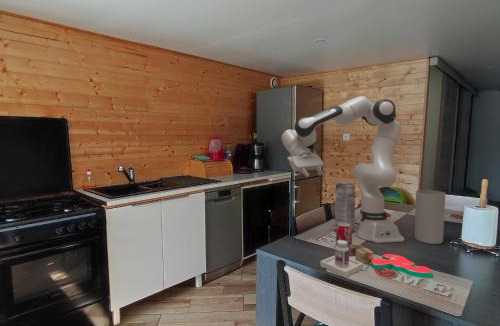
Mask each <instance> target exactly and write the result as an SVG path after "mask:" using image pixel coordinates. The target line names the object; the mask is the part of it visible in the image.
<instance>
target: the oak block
mask: <svg viewBox="0 0 500 326" xmlns="http://www.w3.org/2000/svg"><path fill="white" fill-rule="evenodd" d="M355 260H356V261H359V262H361V263H363V264H365V265H371V264H370V263H371V261H372V260H374V252H373V251H372V250H371V249H369V248H367V247H364V248H360V249H356V257H355Z"/></svg>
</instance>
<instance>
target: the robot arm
mask: <svg viewBox="0 0 500 326" xmlns="http://www.w3.org/2000/svg"><path fill="white" fill-rule="evenodd" d="M396 109H397V108H396V106H395V103H394V102H393V101H392V100H391V99H388V98H387V99H386V98H384V99H383V98H382V99H380V100H378V101H376V102H374V103H373V102H371V101H370V99H369V98H368V97H367V96H364V95H359V96H356V97H353V98H350V99H349V100H347V101H345V102H343V103H342V104H339V105H332V106H330V107H327V108H325V109H323V110H321V111H318V112H316V113H314V114H312V115H308V116H303V117H301V118H299V119H297V120H296V121H295V123H294V129H286V130H285V131H284V132H283V133H282V135H281V143H282V144H283V146H284V147H285V149H286V151H288V152H289V155H288V156H287V160H288V162H289V166H290V167H291V169H292V170H293V171H294V172H296V173H297V172H300V173H302V175H304V176H305V177H306V178H308V177H310V176H311V174H310V172H308V171H311V170H312V171H313V170H316V171H317V175H318V176H322V175H323V173H324V172H323V171H322V168H323V166H324V161H323V160H322V159H321V157H320V156H319V155H318V154H317V152H316V150H314V149H311V148H308V147H310V146H312V145H314V144H315V142H316V141H317V132H316V129H317V127H318V126H320V125H323V124H324V123H327V122H330V121H335V122H336V123H337V124H339V125H341V126H347V125H348V124H352V123H353V122H355V121H356V120H358V119H360V118H362V119H363V120H364V121H365V122H366V123H367V124H368V125H370V126H377V132H376V135H375V136H374V139H373V143H372V145H371V148H370V154H371V155H372V163H368V162H365V163H359V164H357V165H355V166H354V168H353V171H352V174H353V175H352V176H353V177H354V179H355V180H356V182H357V185H358V187H359V188H358V189H359V192H360V198H361V200H360V202H361V203H360V209H359V210H360V211H359V228H358V231H357V233H356V235H357V237H359V238H360V239H363V240H366V241H368V242H369V241H370V242H373V243H375V244H376V243H377V244H382V243H399V242H405V237H404V236H403V235H402V234H400V230H399V228H398V226H397V225H396V224H395V223H394V222H392V221H391V220H390V219H389V218H391V217H392V214H391V213H389V212H386V211H385V197H384V195H383V193H382V192H381V190H380V188H385V187H387V188H388V187H391V186H393V185H394V184H395V182H396V180H397V172H396V171H395V169H394V167H393V158H394V154H395V151H396V148H397V145H398V142H399V140H400V135H401V131H402V124H401V123H400V122H399V121H398V120H396V118H397V114H396ZM379 187H380V188H379Z"/></svg>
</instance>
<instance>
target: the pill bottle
mask: <svg viewBox="0 0 500 326" xmlns="http://www.w3.org/2000/svg"><path fill="white" fill-rule="evenodd" d="M334 255H335V264H336V265H337V266H340V267H347V266H348V265H349V258H350V254H349V248H348V247H347V242H346V241H344V240H339V241H337V246H336V245H335V248H334Z"/></svg>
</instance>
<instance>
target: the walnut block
mask: <svg viewBox="0 0 500 326" xmlns="http://www.w3.org/2000/svg"><path fill="white" fill-rule="evenodd" d="M360 248H365V247H364V245H362V244H352V245H349V257H352V256H356V249H360Z"/></svg>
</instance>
